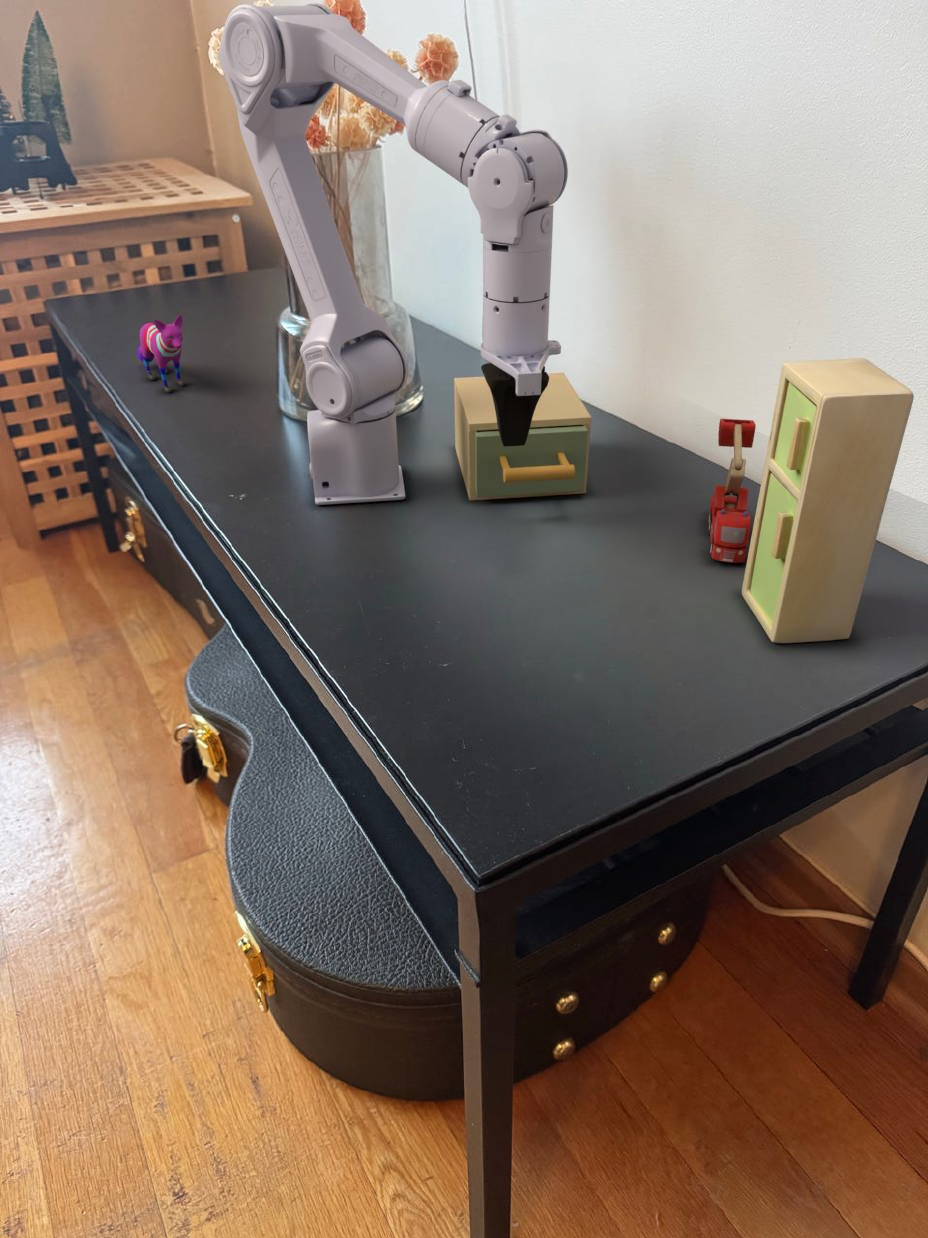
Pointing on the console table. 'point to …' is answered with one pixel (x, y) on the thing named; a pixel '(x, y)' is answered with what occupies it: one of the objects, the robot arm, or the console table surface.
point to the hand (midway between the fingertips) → (513, 443)
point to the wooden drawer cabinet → (479, 414)
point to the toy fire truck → (731, 512)
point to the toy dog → (162, 347)
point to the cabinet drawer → (531, 462)
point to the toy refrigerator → (823, 496)
